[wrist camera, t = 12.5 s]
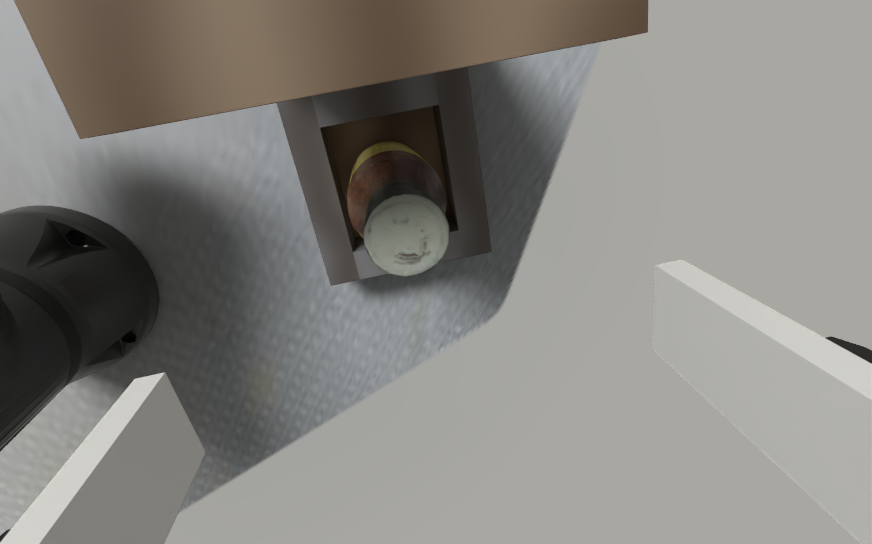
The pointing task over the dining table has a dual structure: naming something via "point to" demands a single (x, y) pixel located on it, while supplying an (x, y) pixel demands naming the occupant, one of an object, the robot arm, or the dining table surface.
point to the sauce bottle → (398, 209)
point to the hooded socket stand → (315, 82)
